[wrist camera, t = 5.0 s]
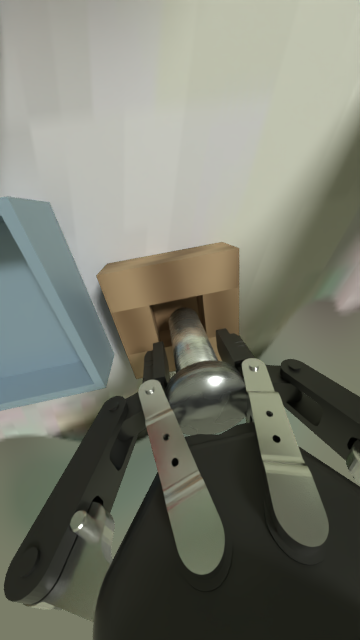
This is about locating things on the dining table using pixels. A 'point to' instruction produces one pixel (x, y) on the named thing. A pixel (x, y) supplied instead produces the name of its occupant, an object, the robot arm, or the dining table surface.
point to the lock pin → (202, 380)
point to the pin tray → (44, 312)
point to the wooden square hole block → (171, 296)
